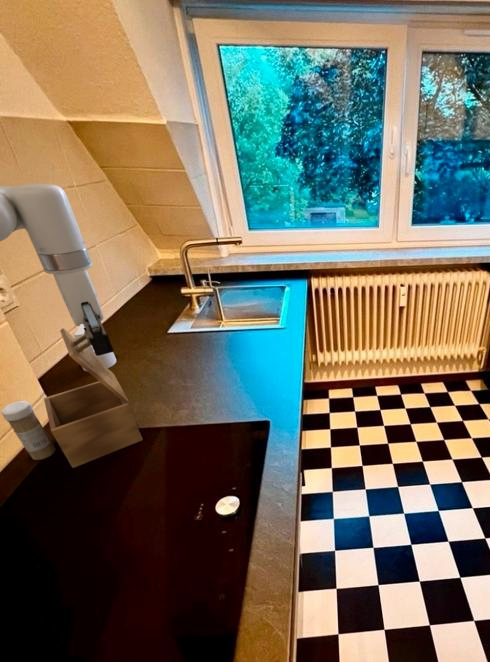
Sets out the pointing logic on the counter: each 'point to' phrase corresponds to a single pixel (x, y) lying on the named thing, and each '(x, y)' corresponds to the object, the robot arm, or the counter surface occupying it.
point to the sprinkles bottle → (28, 429)
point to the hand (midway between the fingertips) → (101, 347)
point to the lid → (92, 363)
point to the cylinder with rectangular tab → (104, 359)
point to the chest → (90, 423)
